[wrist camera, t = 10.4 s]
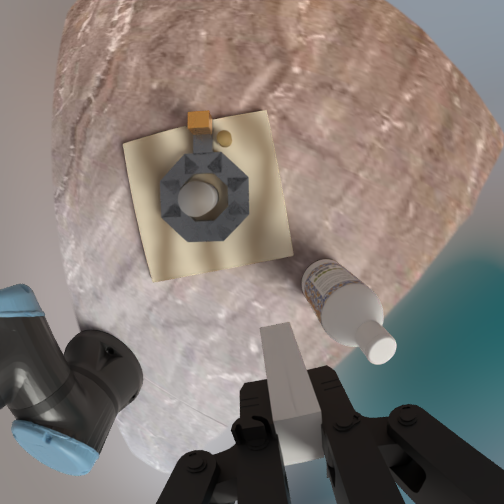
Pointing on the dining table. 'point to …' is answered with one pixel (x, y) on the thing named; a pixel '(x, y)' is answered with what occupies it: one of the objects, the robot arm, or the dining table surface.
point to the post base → (261, 200)
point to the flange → (204, 163)
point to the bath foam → (347, 309)
